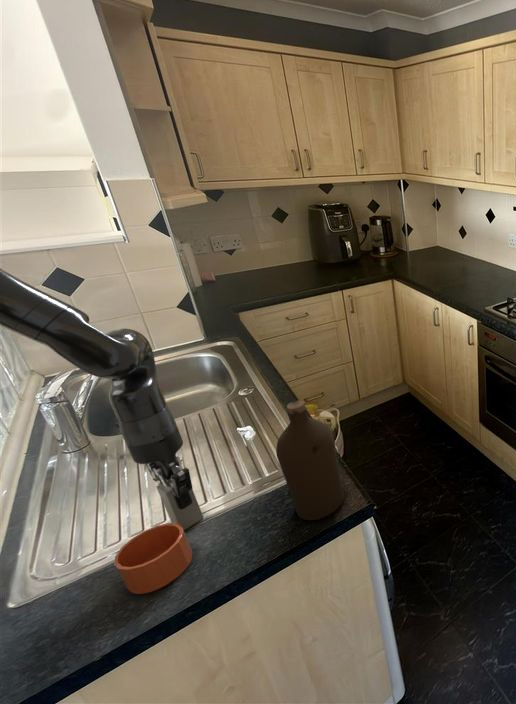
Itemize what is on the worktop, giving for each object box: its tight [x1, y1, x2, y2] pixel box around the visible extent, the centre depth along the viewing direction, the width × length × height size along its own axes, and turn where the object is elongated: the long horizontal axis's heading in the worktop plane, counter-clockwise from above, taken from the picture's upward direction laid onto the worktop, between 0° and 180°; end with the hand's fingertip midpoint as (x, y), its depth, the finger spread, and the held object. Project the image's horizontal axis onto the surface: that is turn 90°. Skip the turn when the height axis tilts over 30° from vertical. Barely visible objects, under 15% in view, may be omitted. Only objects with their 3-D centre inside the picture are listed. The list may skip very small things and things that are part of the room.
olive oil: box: [275, 399, 345, 521], centre depth 84 cm, size 11×11×25 cm
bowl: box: [113, 522, 193, 595], centre depth 73 cm, size 9×9×6 cm
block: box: [156, 479, 204, 531], centre depth 83 cm, size 4×4×10 cm
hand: (180, 501), depth 83 cm, fingers closed on block, 4 cm apart
